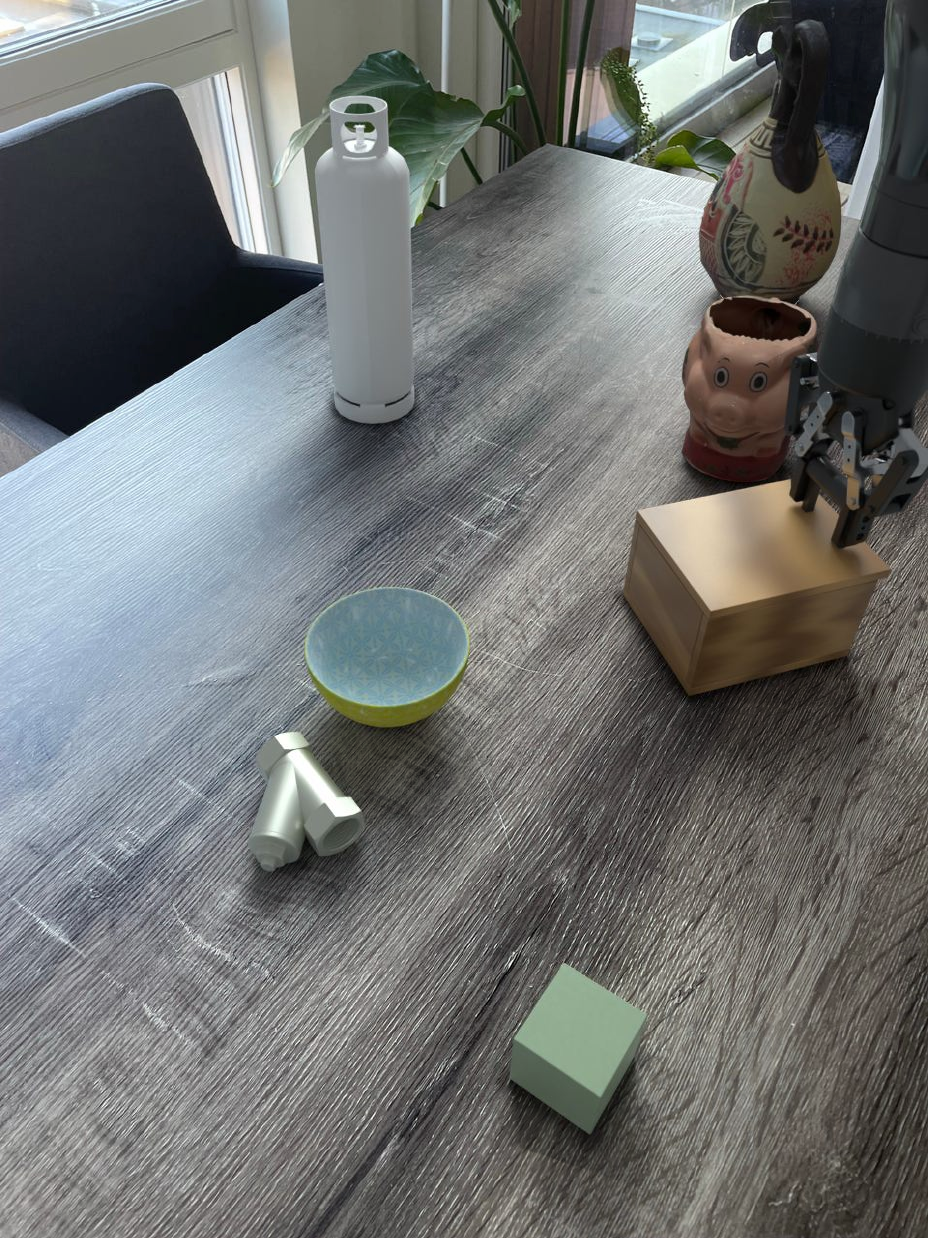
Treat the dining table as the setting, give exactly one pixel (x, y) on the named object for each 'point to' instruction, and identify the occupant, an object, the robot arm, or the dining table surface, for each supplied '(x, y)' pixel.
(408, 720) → the bowl
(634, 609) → the chest
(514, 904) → the dining table surface
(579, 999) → the block
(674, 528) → the lid
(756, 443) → the decorative planter
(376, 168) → the bottle
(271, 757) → the pipe fitting
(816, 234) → the ceramic jug
